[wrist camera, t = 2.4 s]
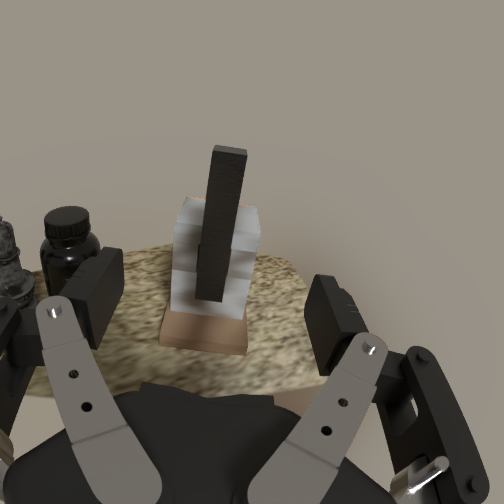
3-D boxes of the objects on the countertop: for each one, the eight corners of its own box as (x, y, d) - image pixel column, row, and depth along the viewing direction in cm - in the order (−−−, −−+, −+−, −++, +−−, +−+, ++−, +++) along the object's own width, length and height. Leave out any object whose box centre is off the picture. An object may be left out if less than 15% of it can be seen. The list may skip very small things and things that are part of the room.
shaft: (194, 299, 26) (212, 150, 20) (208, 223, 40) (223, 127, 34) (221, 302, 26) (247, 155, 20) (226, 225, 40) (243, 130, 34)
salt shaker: (22, 287, 31) (6, 200, 25) (50, 303, 30) (33, 210, 25) (-7, 310, 26) (-33, 219, 20) (19, 330, 25) (-10, 232, 20)
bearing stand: (159, 344, 30) (160, 241, 24) (180, 266, 43) (187, 185, 37) (245, 355, 31) (270, 256, 25) (242, 274, 44) (258, 195, 39)
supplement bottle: (45, 304, 30) (27, 211, 24) (90, 285, 35) (82, 196, 29) (68, 339, 27) (46, 237, 21) (117, 314, 32) (111, 217, 26)
